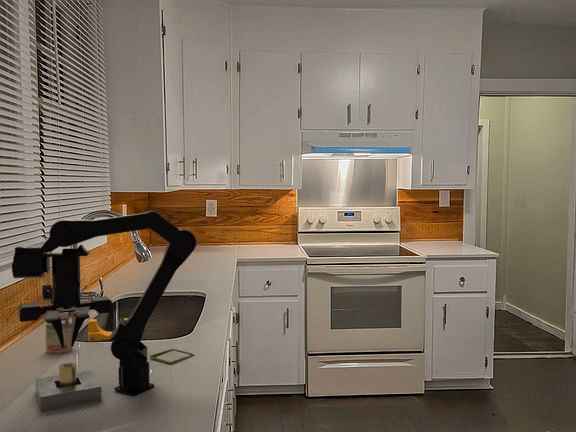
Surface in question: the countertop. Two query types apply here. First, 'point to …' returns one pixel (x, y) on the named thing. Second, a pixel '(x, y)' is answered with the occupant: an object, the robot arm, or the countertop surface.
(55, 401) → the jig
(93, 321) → the pipe clamp
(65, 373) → the bushing
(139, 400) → the countertop surface
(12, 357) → the countertop surface
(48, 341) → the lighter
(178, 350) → the olive piece
